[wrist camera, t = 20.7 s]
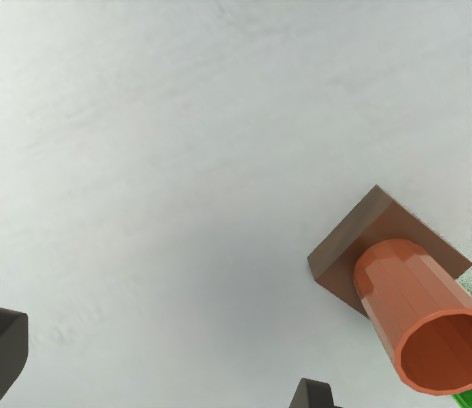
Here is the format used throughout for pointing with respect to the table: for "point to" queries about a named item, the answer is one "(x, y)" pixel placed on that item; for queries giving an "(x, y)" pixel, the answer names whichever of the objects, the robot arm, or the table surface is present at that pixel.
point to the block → (369, 233)
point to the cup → (418, 315)
